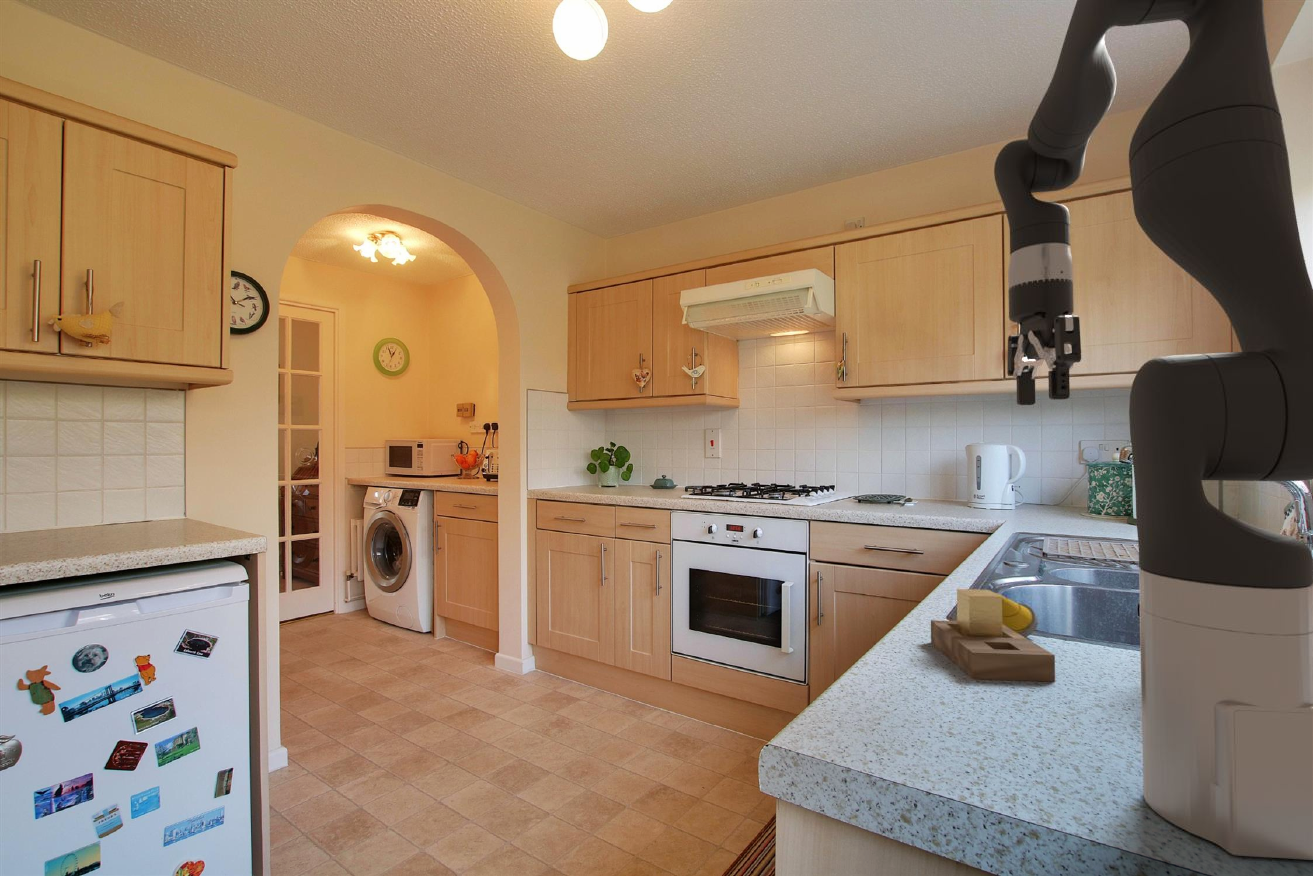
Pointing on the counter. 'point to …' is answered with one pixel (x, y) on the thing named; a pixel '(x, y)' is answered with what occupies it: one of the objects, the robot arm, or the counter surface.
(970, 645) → the bore block
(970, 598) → the tan square peg
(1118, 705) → the counter surface
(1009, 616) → the drill bit
